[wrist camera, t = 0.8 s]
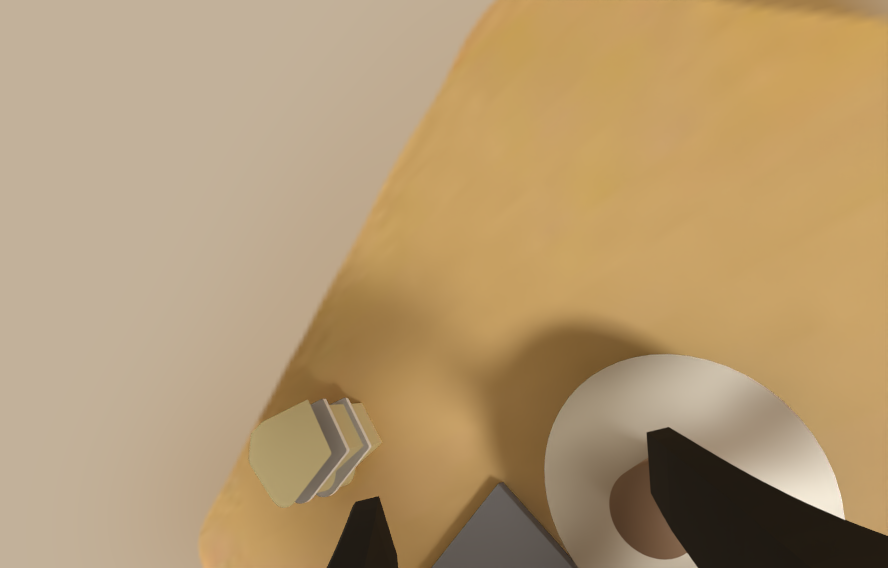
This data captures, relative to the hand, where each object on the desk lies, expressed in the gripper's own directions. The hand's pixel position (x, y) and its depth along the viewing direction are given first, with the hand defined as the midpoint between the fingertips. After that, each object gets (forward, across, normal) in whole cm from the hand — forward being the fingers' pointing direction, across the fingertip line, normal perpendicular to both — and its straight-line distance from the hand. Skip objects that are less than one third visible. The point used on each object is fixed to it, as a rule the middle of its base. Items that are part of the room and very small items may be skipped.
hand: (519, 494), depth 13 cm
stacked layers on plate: (+21, +9, +12) cm, 26 cm away
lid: (+6, -7, +7) cm, 12 cm away
